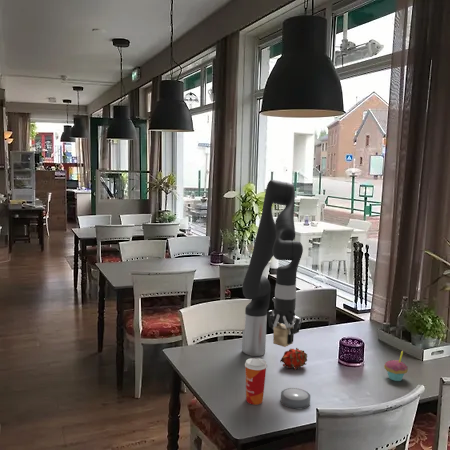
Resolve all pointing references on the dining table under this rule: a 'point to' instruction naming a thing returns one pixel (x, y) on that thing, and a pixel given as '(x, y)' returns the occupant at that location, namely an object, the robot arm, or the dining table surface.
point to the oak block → (281, 335)
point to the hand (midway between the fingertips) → (283, 341)
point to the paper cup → (255, 380)
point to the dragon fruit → (294, 358)
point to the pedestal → (295, 398)
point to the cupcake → (396, 369)
